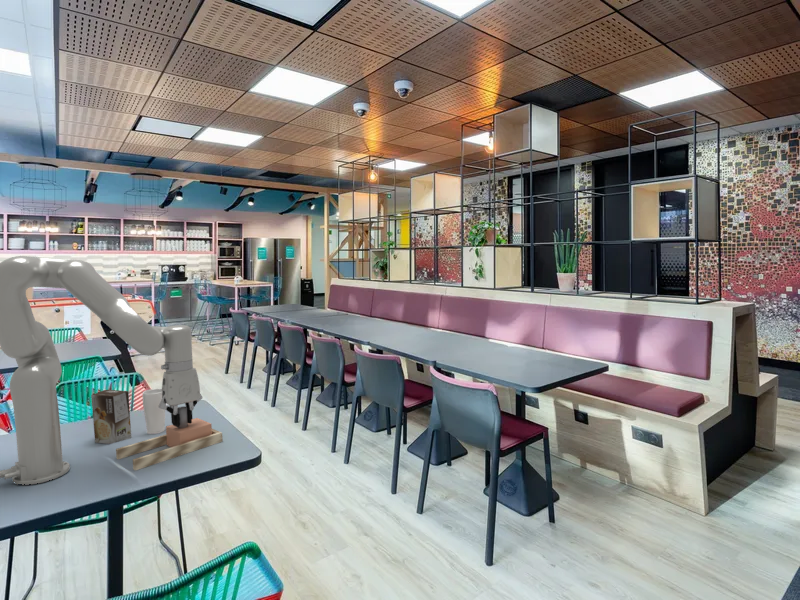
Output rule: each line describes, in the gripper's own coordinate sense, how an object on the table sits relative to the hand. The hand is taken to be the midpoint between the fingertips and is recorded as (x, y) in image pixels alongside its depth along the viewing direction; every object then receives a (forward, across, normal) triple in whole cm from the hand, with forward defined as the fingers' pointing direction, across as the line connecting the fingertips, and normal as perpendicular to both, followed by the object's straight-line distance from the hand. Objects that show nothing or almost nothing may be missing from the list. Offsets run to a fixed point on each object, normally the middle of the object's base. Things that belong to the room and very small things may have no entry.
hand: (182, 423), depth 144 cm
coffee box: (+8, -11, +26) cm, 29 cm away
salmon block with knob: (+7, +2, 0) cm, 7 cm away
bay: (+8, -4, 0) cm, 9 cm away
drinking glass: (+8, 0, +20) cm, 22 cm away
